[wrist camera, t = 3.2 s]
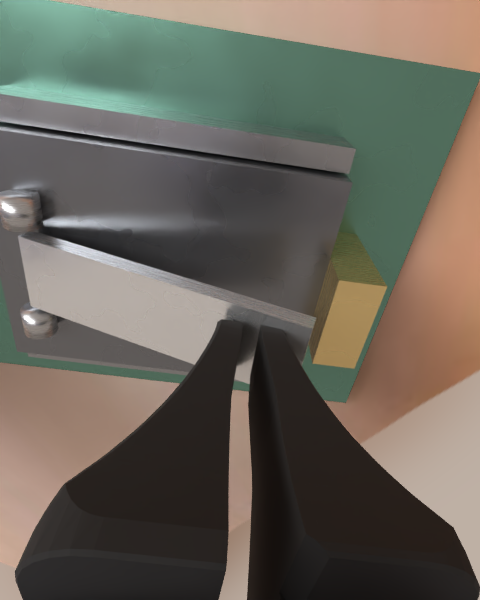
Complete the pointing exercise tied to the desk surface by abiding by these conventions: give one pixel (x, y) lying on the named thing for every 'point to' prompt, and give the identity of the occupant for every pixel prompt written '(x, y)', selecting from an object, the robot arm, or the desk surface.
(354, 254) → the circuit board
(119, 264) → the grey flat bar
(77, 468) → the desk surface
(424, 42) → the desk surface
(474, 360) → the desk surface
